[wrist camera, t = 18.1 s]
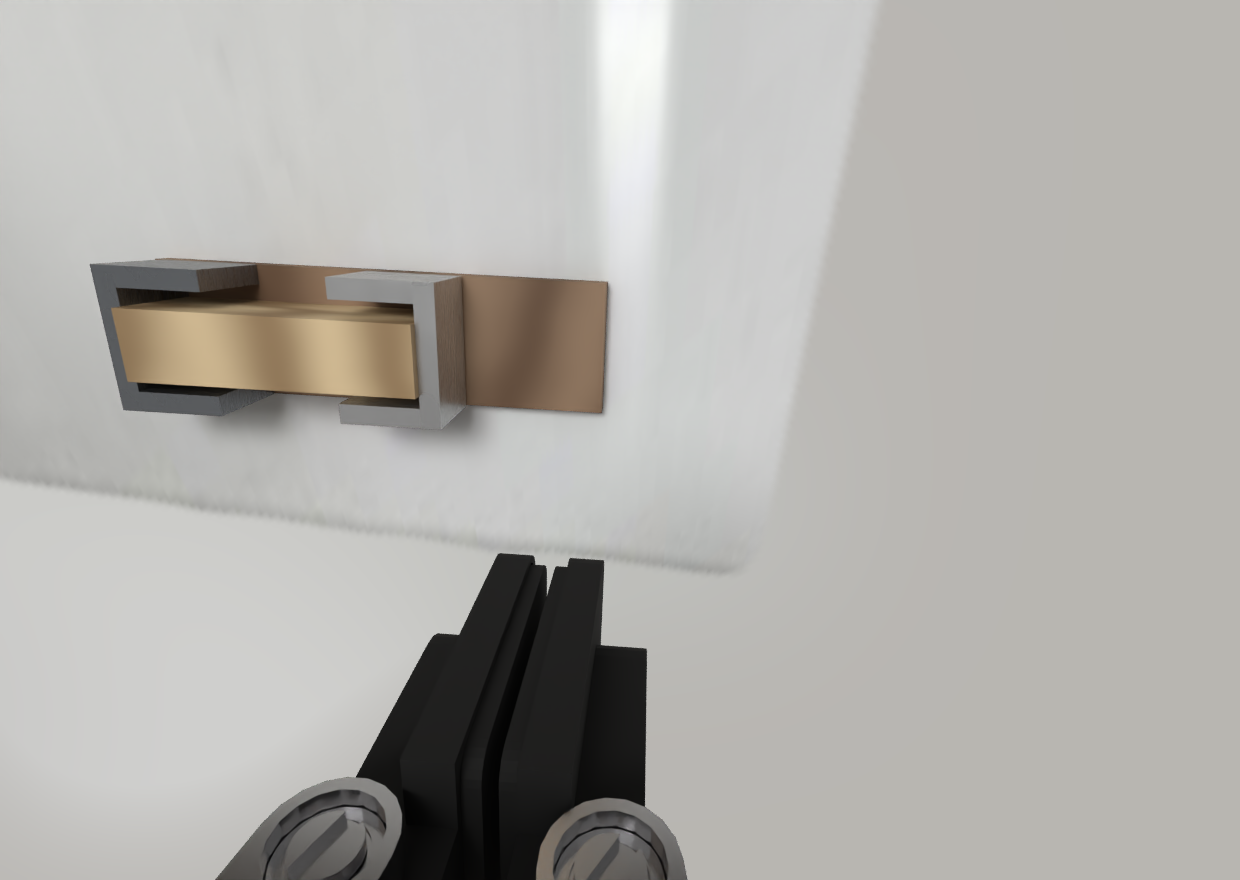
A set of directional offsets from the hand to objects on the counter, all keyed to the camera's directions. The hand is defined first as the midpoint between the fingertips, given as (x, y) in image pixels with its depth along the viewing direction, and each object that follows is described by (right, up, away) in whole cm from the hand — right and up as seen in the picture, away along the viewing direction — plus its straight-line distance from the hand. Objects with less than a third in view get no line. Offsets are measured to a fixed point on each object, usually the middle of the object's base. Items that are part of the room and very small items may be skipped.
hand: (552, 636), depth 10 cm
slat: (-15, +9, +23) cm, 29 cm away
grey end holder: (-21, +9, +23) cm, 33 cm away
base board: (-12, +9, +24) cm, 28 cm away
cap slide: (-10, +8, +23) cm, 26 cm away
